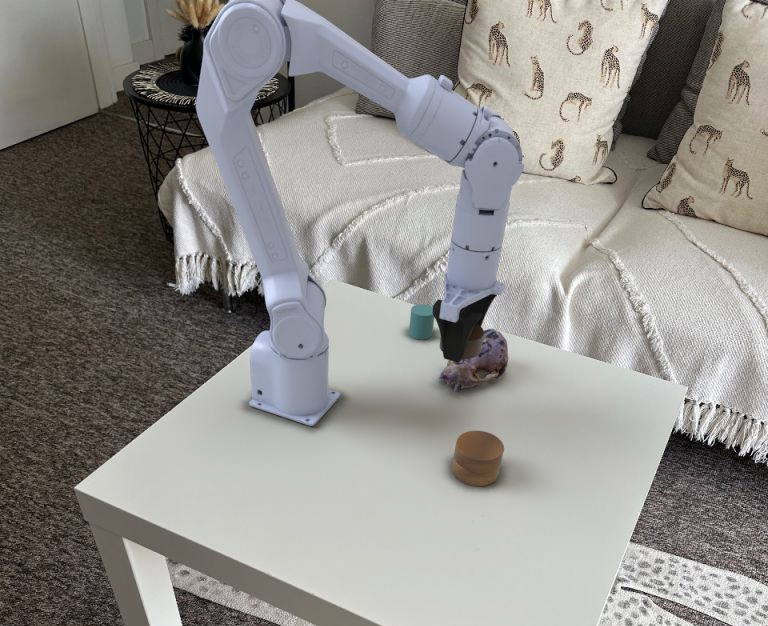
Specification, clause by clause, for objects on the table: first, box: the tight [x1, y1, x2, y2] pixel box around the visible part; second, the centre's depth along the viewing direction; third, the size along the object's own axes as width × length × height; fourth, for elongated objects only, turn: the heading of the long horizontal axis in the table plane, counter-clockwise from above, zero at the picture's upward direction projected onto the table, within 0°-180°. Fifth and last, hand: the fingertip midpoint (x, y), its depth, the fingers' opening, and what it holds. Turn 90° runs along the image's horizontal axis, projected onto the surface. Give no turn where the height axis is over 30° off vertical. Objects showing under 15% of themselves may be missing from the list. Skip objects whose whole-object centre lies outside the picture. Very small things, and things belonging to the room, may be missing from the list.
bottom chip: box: [451, 456, 501, 487], centre depth 85 cm, size 6×6×2 cm
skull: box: [438, 328, 509, 392], centre depth 99 cm, size 12×8×6 cm, turn 129°
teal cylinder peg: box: [408, 303, 435, 341], centre depth 107 cm, size 4×4×4 cm
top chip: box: [453, 430, 505, 473], centre depth 83 cm, size 6×6×2 cm
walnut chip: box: [439, 324, 485, 359], centre depth 87 cm, size 5×5×2 cm
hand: (459, 348), depth 88 cm, fingers closed on walnut chip, 5 cm apart
